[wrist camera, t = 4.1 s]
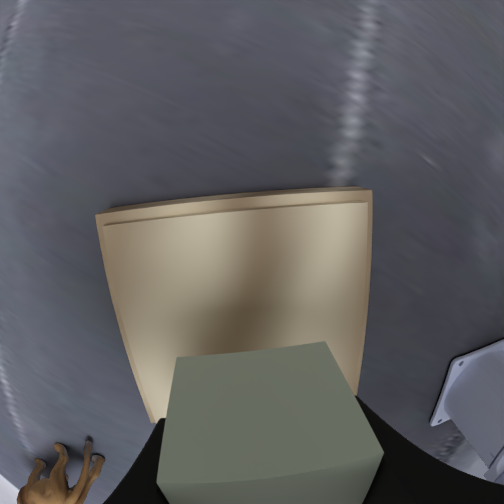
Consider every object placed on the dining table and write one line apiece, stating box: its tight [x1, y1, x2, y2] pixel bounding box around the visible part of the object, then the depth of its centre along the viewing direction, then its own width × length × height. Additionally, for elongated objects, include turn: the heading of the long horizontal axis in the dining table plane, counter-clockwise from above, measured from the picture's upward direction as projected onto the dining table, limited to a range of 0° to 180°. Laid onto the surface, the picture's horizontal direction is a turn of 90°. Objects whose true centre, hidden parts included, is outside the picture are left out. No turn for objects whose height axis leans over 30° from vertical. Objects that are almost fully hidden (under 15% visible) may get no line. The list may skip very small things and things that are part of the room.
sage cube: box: [157, 341, 384, 504], centre depth 8 cm, size 5×5×5 cm
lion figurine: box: [17, 440, 105, 504], centre depth 16 cm, size 15×5×9 cm, turn 138°
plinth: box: [95, 186, 372, 423], centre depth 16 cm, size 13×13×2 cm
